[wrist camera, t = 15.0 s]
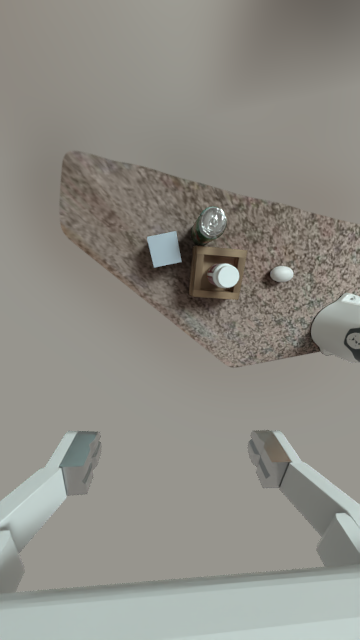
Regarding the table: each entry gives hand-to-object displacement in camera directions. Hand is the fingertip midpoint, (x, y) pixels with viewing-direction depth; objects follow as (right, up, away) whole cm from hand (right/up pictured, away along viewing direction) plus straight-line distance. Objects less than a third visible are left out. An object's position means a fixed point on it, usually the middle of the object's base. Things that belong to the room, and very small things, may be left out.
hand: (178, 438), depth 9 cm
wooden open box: (+8, +18, +34) cm, 39 cm away
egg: (+25, +18, +35) cm, 47 cm away
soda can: (+5, +27, +31) cm, 41 cm away
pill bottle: (+9, +17, +30) cm, 36 cm away
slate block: (-3, +23, +32) cm, 39 cm away
